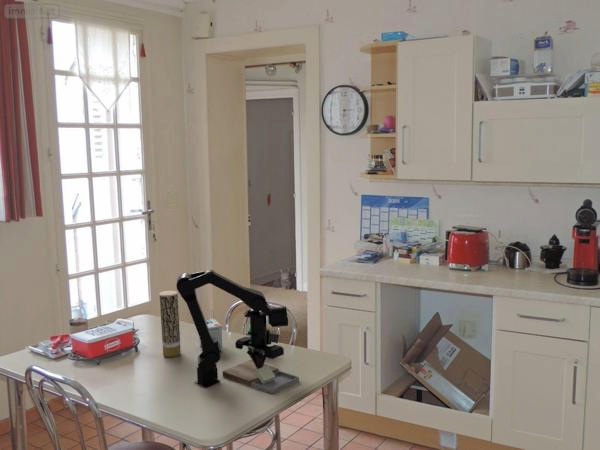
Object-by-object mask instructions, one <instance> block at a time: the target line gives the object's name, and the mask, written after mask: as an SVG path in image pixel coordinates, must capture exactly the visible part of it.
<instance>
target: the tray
mask: <svg viewBox="0 0 600 450" xmlns="http://www.w3.org/2000/svg"><path fill="white" fill-rule="evenodd" d="M274 375H275V376H276V377H275V379H274V380H273V381H270V382H267V383H264V384H262V383H261V381H260V380H259V379H258V380H255V381H253V382H251V386H250V387H251V388H255V389H257V390H258V391H262V392H265V393H268V394H271V395H274V394H276V393H277V392H279V391H281V390H284V389H286V388H288V387H290V386H293V385H294V384H296V383H299V382H300V377H299V376H297V375H294V374H291V373H288V372H286V371H285V372H284V371H281V370H279V369H278V371H276V372H274Z"/></svg>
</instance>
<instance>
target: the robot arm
mask: <svg viewBox="0 0 600 450" xmlns="http://www.w3.org/2000/svg"><path fill="white" fill-rule="evenodd" d="M209 284H210V285H212V286H214V287H217V288H218V289H220V290H222V291H224V292H226V293H228V294H230V295H232V296H234V297H236V298H237V299H239V300H240V301H241V302H242V303H244V304H245V305H246V306H247V307H248V308H247V310H246V311H245V312H243V313H244V314H243V316H244V318H249V326H250V331H249V330H247V335H248V336H243V337H241V338H238V339H237V340H236V341H235V344H234V345H235V349H238V350H242V349H243V348H244V347H247V351H246V354H248V356H249V358H250V360H253V362H254V364H255V366H256V368H257V369H259V368H262V367H263V365H264V364H265V362H266V360H267V359H266V358H268V359H271V360H274V359H276V358H279V357H281V356H283V355H285V352H284V351H285V348H284V347H283V346H281V345H278V344H279V339H280V334H278V333H274V332H272V331H271V330H270V329H268V326H267V323H268V325H270V326H271V327H272V328H280V327H288V326H289V317H288V309H287V306H286V305H285V306H280V307H278V306H277V307H271V306H270V304H269V303H268V301H267V300H266V297H265V294H264V293H263V292H262V291H259V290H257V289H253V288H249V287H245V286H242V285H241V284H239V283H237V282H235V281H233V280H231V279H229V278H227V277H225V276H223V275H221V274H220V273H217V272H216V271H215V270H213V269H211V268H210V269H207V270H204V271H197V272H193V273H187V272H185V273H181V274H180V275H179V276H178V278H177V280H176V291H177V293H178V294H179V295H180V297H181V298H182V300H183V301H184V302H185V303H186V305H187V307H188V311H189V313H190V315H191V318H192V319H191V320H192V321H193V323H194V325H195V329H196V332H197V334H198V337H199V340H200V339H201V345H202V348H201V353H200V354H199V355H198V356H197V366H196V377H197V379H196V380H195V381H194V384H197V385H199V386H201V387H204V388H209V387H211V386H214V385H216V384H218V383H220V382H221V380H220V379H219V377H218V376H219V373H218V372H219V371H218V367H217V363H218V362H220V359H221V353H222V352H221V345H220V344H219V342H218V337H217V336H216V337H213V336H212V335H211V333H210V331H209V328H208V325H207V323H206V320H207V319H206V318H205V315H204V312H203V310H202V307H201V304H200V303H199V299H198V296H197V289H200V288H201V287H203V286H206V285H209ZM249 335H250V336H251V338H250V337H249ZM272 343H275V344H273V345H272ZM276 344H277V345H276ZM270 345H271V346H270Z"/></svg>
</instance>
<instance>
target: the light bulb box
mask: <svg viewBox="0 0 600 450" xmlns="http://www.w3.org/2000/svg"><path fill="white" fill-rule="evenodd" d="M205 320H206V323H207V325H208V328H209V331H210V333H211V335H212V336H213V337H216V336H217V337H218V342H219V344H220V345H221V353H223V349H224V348H223V330H222V329H223V327H222V326H223V325H222V324H221V323H219V322H218V321H217V320H216V319H215V318H209V319H205ZM199 347H200V348H201V349H202V345H201V339H200V338H199Z"/></svg>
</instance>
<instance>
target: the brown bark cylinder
mask: <svg viewBox="0 0 600 450" xmlns="http://www.w3.org/2000/svg"><path fill="white" fill-rule="evenodd" d="M178 295H179V292H178V290H164V291H160V292H159V307H160V323H161V324H160V326H161V340H162V341H161V344H162V355H163V356H164V357H165V358H174V357H178V356H180V355H181V351H182V350H181V348H182V347H181V334H180V333H181V331H180V330H181V329H180V314H179V296H178Z"/></svg>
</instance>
